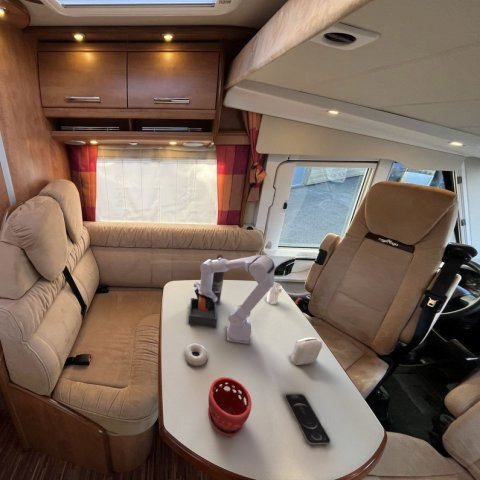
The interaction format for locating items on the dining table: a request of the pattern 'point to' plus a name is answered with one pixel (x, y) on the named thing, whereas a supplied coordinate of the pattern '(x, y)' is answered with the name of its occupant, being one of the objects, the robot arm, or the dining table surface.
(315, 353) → the photo printer
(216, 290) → the wine bottle
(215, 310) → the tote
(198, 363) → the donut
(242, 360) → the dining table surface
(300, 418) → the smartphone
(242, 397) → the flower pot
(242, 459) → the dining table surface
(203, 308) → the terracotta cup
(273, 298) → the cup
